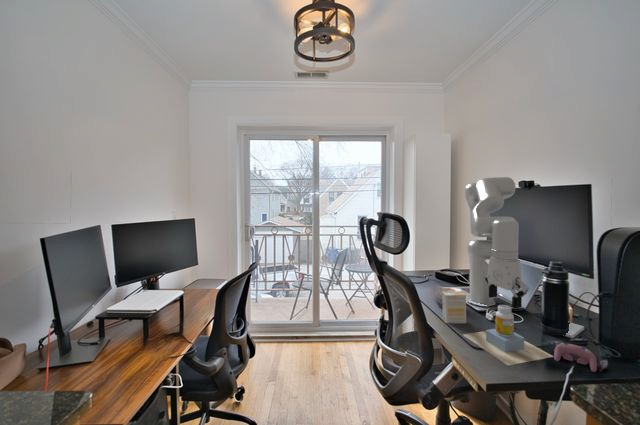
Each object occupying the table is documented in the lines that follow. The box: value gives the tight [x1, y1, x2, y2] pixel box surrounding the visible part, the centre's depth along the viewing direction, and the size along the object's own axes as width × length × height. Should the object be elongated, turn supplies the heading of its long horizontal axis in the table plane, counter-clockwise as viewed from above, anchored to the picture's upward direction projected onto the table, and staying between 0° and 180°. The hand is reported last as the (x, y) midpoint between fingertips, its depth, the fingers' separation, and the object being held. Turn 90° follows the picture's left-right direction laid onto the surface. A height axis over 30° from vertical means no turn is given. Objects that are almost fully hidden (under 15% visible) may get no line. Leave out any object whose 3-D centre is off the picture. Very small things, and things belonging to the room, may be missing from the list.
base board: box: [462, 330, 554, 366], centre depth 98 cm, size 18×20×1 cm
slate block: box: [485, 328, 525, 352], centre depth 98 cm, size 8×8×4 cm
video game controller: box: [553, 342, 598, 373], centre depth 87 cm, size 10×5×7 cm, turn 47°
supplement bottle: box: [494, 304, 515, 337], centre depth 98 cm, size 5×5×10 cm
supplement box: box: [441, 290, 467, 324], centre depth 117 cm, size 8×5×13 cm, turn 84°
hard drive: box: [564, 322, 585, 339], centre depth 109 cm, size 2×8×12 cm
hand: (504, 302), depth 98 cm, fingers open, 9 cm apart
